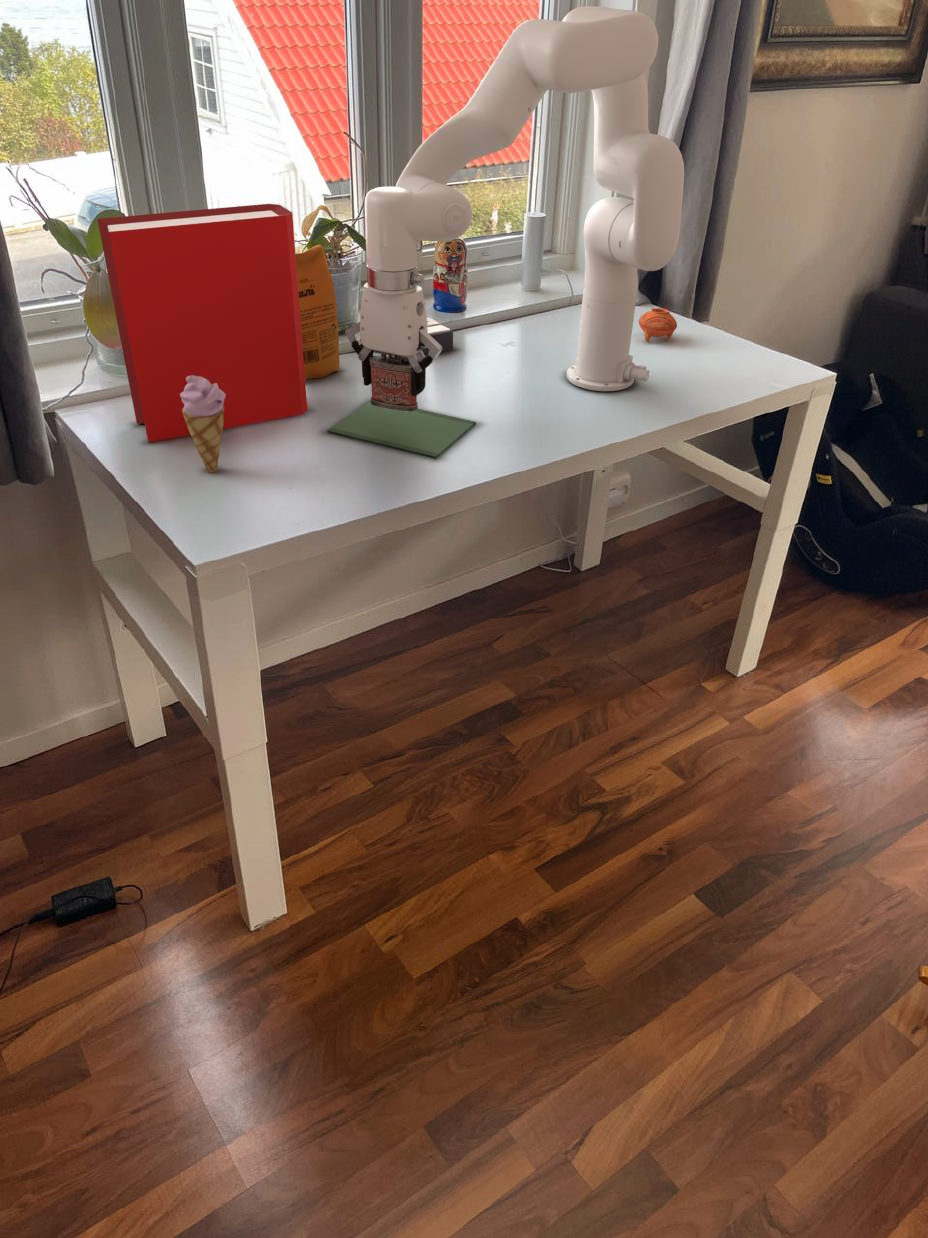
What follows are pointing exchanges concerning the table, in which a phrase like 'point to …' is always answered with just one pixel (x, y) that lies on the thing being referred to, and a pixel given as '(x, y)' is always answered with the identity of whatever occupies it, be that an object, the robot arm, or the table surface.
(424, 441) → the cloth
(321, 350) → the coffee package
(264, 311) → the book
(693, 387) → the table surface
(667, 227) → the robot arm
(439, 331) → the card game box
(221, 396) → the ice cream cone
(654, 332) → the pot
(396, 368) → the lighter
